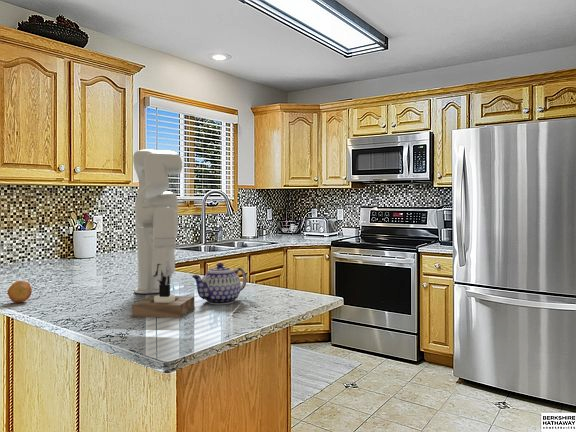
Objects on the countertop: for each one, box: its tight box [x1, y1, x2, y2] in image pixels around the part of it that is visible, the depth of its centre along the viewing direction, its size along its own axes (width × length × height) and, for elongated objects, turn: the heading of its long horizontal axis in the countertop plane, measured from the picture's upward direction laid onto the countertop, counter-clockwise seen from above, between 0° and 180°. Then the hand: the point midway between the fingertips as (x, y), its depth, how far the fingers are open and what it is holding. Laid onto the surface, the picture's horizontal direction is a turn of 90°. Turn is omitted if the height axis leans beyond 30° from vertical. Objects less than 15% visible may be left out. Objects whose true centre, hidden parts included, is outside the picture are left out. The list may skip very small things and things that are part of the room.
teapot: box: [191, 262, 248, 305], centre depth 175 cm, size 25×15×15 cm, turn 132°
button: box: [153, 294, 176, 303], centre depth 158 cm, size 7×7×4 cm
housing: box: [131, 295, 195, 319], centre depth 158 cm, size 16×16×4 cm
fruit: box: [7, 280, 33, 303], centre depth 176 cm, size 8×8×8 cm
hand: (164, 296), depth 158 cm, fingers closed
